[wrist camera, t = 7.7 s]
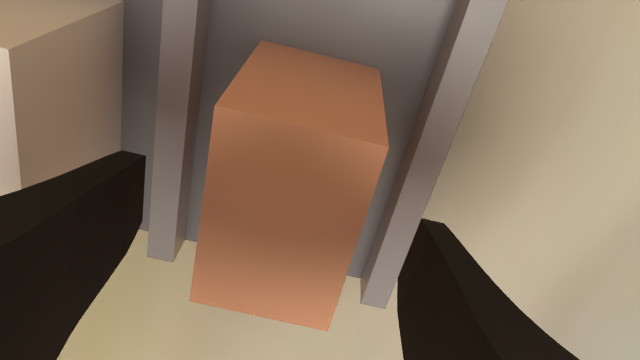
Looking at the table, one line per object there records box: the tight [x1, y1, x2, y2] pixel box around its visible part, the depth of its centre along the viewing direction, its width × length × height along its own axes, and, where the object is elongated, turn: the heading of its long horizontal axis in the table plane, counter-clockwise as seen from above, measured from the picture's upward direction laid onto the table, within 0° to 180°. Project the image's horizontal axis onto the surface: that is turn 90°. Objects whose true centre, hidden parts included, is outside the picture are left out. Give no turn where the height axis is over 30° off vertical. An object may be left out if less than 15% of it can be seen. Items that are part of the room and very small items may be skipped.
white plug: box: [0, 0, 124, 196], centre depth 15 cm, size 6×4×6 cm, turn 167°
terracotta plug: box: [190, 40, 389, 331], centre depth 15 cm, size 6×4×6 cm, turn 167°
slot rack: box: [121, 0, 508, 309], centre depth 17 cm, size 12×18×2 cm, turn 77°
